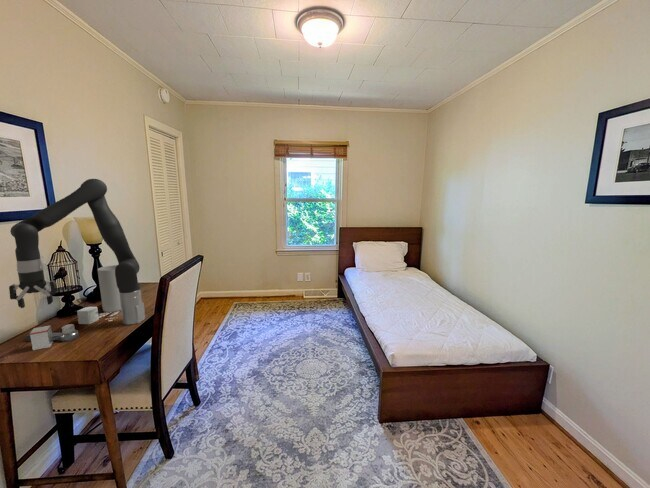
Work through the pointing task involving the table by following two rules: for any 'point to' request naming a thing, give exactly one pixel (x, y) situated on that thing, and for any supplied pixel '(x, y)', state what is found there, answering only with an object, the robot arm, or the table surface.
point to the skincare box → (87, 315)
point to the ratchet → (62, 334)
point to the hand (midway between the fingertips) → (36, 305)
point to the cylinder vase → (109, 289)
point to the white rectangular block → (41, 337)
